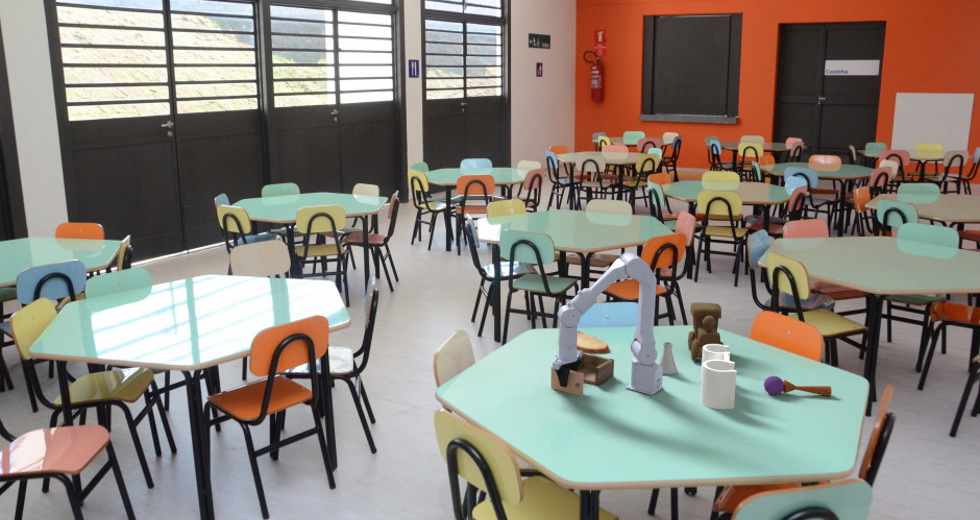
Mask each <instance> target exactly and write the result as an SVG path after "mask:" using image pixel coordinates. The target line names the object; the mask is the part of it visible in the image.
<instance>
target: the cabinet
mask: <svg viewBox="0 0 980 520" xmlns="http://www.w3.org/2000/svg"><path fill="white" fill-rule="evenodd" d="M577 360H581V365H580V366H579V368H578V371H577V372H580V373H584V382H583V383H586V384H590V385H594V386H597V387H598V386H599V387H600V386H601V385H602V384H604V383H606V382H607V381H609V380H610V379H612V378H613V377H614V375H615V373H614V372H615V370H614V368H615V359H613V358H608V357H606V356H601V355H598V354H594V353H585V352H582V357H578V359H577Z"/></svg>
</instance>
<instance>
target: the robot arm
mask: <svg viewBox="0 0 980 520" xmlns="http://www.w3.org/2000/svg"><path fill="white" fill-rule="evenodd" d="M629 277H630V278H632V279H634V280H636V281H637V282H638V283H639V287H638V288H639V290H638V304H637V317H636V318H637V320H636V321H637V322H636V330H635V332H634V334H633V339H632V341H631V343H630V351H631V353H632V354H633V356H632V358H631V369H630V370H631V376H630V383H629V384H628V385H626V386H625V389H626V390H630V391H631V390H632V391H635V392H639V393H643V394H646V395H650V396H653V395H655V394H656V393H657V392H659V391H660V390H662V389H663V388H664V386H663V380H664V379H663V376H664V374H663V368H662V366H661V365H658V364H659V363H657V362H656V361H657V359H658V351H657V349H656V340H655V337H654V324H655V311H656V310H655V309H656V298H657V297H656V295H657V283H658V282H657V281H658V280H657V278H656V275H655V273H654V272H653V270H652V269H651V267H650V265H649V263H647V262H646V261H644V260H643V259H642V258H641V257H640V256H639V255H637V254H636V252H633V251H626V252H623V253H622V254H621V256H620V257H619V258H617V259H615V260H614V261H613V263H612V264H611V266H609V268H608V269H607V270H606V271H605V272H603V274H602V275H601V276H600V277H599V278H598V279H597V280H596V281H595V282H594V283H593V284H592V285H591V287H588V288H587V287H586V288H583V289H579V290H578V291H577V294H576V295H575V296H574V297H573V298H572V299H571V300H570V301H569V300H568V301H567V302H566V303H565V305H562V306H561V307H560V308H559V310H558V312H557V313H556V314H557V318H558V319H559V324H558V325H559V328H558V353H556V354H555V360H554V361H553V362H552V368H553V369H554V370H555V371H556V373H557V376H558V379H559V384H560V386H562V387H567V383H568V376H569V372H570V370H572V371H576V372H577V371H578V368H579V366H580V365H581V360H577V359H578V357H582V351H579V350H577V331H578V324H579V323H580V320H581V317H582V316H584V315H585V314H586V312H588V311H589V310H590V309H591V308H592V307H593V306H594V305H595V304H596V303H598V302H597V301H598V297H599V296H600V294H601V293H603V292H604V291H606V289H608V288H609V287H610V286H612V285H613V283H615V282H616V281H617V280H628V278H629Z"/></svg>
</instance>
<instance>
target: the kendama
mask: <svg viewBox="0 0 980 520" xmlns="http://www.w3.org/2000/svg"><path fill="white" fill-rule="evenodd" d="M763 382H764V383H763V387H764V390H765V392H766V393H767V394H769V395H772V396H778V395H780V394H782V393H783V394H787V393H790V392H792V391H801V392H805V393H810V394H816V395H818V396H819V395H820V396H824V397H829V398H830V397H831V396H832V390H833V389H832V386H831V385H795V384H793V383H792V382H790V381H788V380H786V379H784V380H783V379H782V378H781V377H780V376H778V375H777V376H776V375H770V376H768V377H767V378H765V380H764V381H763Z"/></svg>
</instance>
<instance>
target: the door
mask: <svg viewBox="0 0 980 520" xmlns="http://www.w3.org/2000/svg"><path fill="white" fill-rule="evenodd" d="M550 368H551V369H550V388H551V389H555V390H558V391H561V392H565V393H568V394H569V393H570V394H573V395H576V396H580V397H581V396H583V395H584V383H585V382H584V373H580V372H576V371H572V370H570V372H569V376H568V383H567V387H562V386H560V384H559V379H558V376H557V373H556V371H555V370H554V369H553V368H552V367H550Z"/></svg>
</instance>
